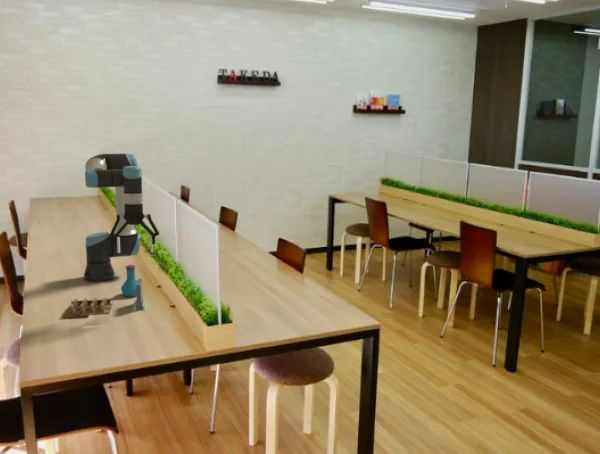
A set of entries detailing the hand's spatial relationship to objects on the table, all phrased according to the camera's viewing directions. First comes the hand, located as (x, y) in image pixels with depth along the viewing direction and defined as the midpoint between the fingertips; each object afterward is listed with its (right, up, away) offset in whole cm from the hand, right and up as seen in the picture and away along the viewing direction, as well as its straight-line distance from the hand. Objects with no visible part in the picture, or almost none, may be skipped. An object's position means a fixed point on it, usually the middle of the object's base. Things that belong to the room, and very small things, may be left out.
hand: (135, 252), depth 237 cm
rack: (-20, -26, -1) cm, 32 cm away
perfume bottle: (-8, -22, +21) cm, 31 cm away
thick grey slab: (+1, -24, +5) cm, 24 cm away
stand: (+1, -25, +5) cm, 25 cm away
